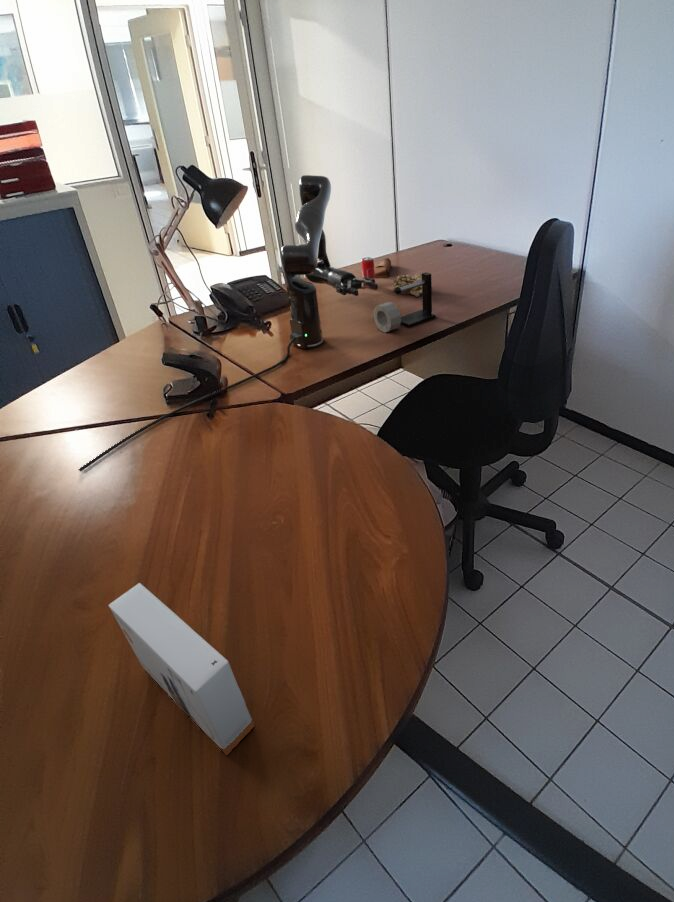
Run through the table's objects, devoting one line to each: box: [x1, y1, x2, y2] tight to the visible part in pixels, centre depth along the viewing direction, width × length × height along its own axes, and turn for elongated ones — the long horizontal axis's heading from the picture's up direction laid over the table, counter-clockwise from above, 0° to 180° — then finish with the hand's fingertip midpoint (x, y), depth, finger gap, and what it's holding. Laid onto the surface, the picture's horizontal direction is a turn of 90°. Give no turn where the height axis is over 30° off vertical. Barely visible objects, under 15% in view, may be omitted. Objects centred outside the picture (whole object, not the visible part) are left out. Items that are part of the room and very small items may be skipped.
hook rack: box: [393, 272, 437, 329], centre depth 197 cm, size 16×8×16 cm, turn 130°
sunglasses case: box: [374, 257, 392, 278], centre depth 254 cm, size 18×7×7 cm
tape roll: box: [373, 301, 402, 334], centre depth 192 cm, size 5×10×10 cm, turn 40°
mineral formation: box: [393, 273, 422, 298], centre depth 226 cm, size 8×13×15 cm
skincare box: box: [108, 582, 253, 749], centre depth 75 cm, size 21×6×16 cm, turn 52°
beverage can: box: [361, 256, 376, 286], centre depth 234 cm, size 5×5×12 cm
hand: (367, 290), depth 196 cm, fingers open, 8 cm apart
